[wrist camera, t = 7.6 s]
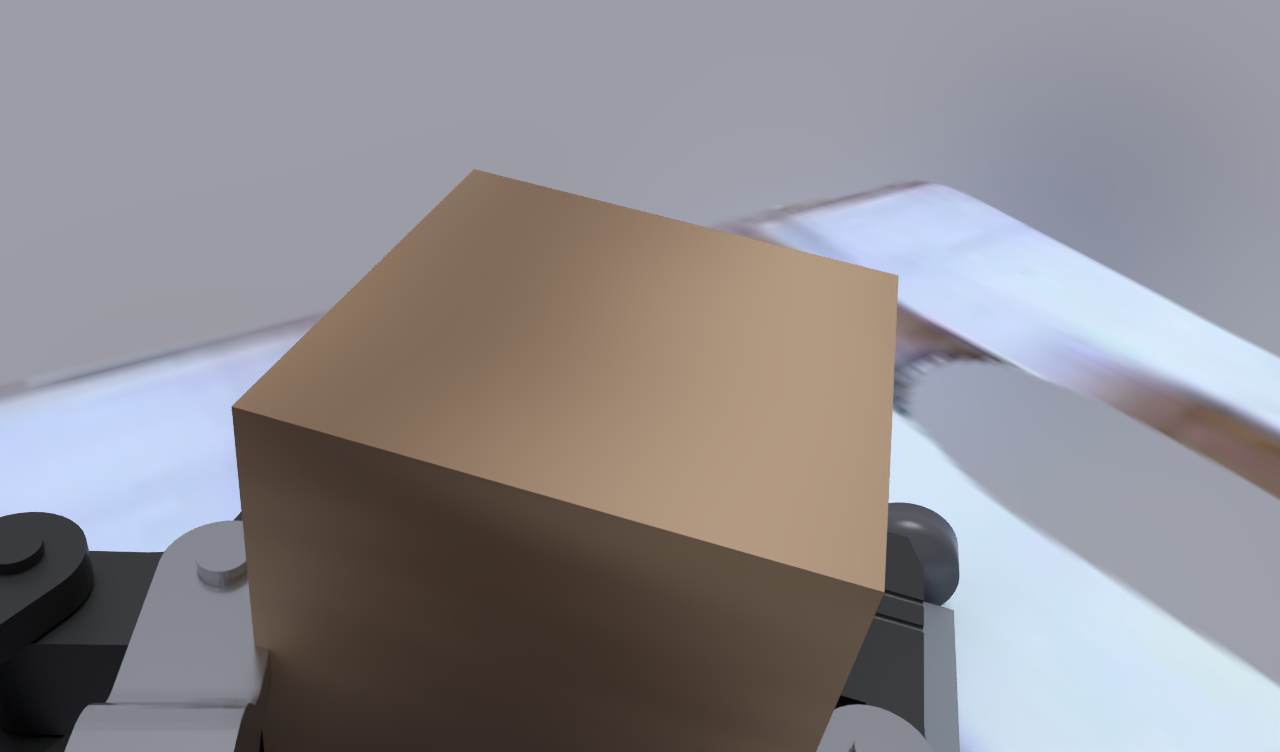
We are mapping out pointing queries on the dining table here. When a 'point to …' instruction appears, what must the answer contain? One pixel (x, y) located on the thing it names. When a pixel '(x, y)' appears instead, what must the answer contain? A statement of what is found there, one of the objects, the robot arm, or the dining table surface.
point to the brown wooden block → (571, 488)
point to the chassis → (935, 617)
